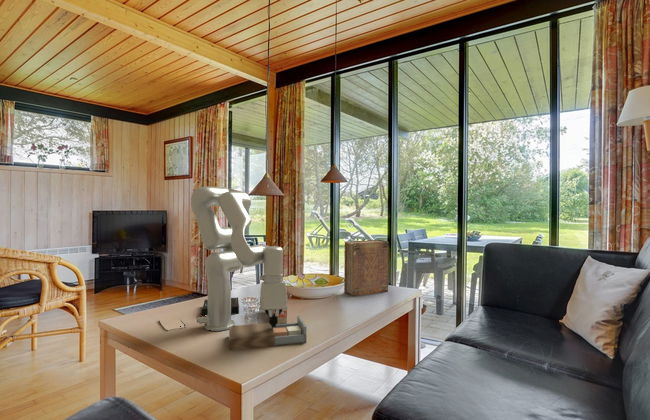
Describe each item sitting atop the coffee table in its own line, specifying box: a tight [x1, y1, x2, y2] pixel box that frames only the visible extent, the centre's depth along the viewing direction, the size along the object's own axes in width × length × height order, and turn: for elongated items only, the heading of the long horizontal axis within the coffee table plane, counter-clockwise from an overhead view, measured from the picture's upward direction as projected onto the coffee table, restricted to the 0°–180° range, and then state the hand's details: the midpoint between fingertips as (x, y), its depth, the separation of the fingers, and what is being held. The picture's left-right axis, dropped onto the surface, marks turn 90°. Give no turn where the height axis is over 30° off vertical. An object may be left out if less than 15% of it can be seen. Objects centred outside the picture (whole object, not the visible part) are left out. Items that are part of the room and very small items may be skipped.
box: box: [271, 315, 307, 347], centre depth 140 cm, size 12×14×6 cm
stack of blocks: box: [272, 309, 288, 325], centre depth 165 cm, size 21×6×12 cm, turn 15°
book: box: [343, 239, 390, 297], centre depth 211 cm, size 25×9×30 cm, turn 119°
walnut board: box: [228, 322, 275, 351], centre depth 136 cm, size 16×14×4 cm
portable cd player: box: [200, 297, 240, 317], centre depth 175 cm, size 16×17×4 cm
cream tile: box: [286, 326, 301, 336], centre depth 140 cm, size 5×5×3 cm
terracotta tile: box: [273, 327, 287, 341], centre depth 138 cm, size 5×5×3 cm
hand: (273, 325), depth 138 cm, fingers closed
